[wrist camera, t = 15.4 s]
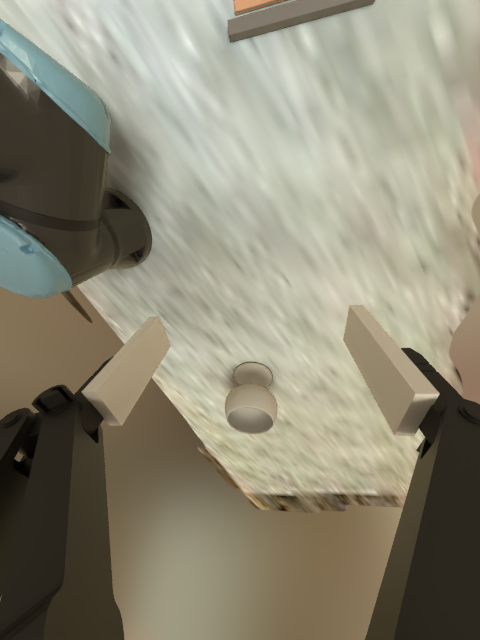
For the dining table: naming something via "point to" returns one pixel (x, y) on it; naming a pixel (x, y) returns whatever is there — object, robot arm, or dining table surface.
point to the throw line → (288, 16)
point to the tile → (252, 5)
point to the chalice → (251, 400)
